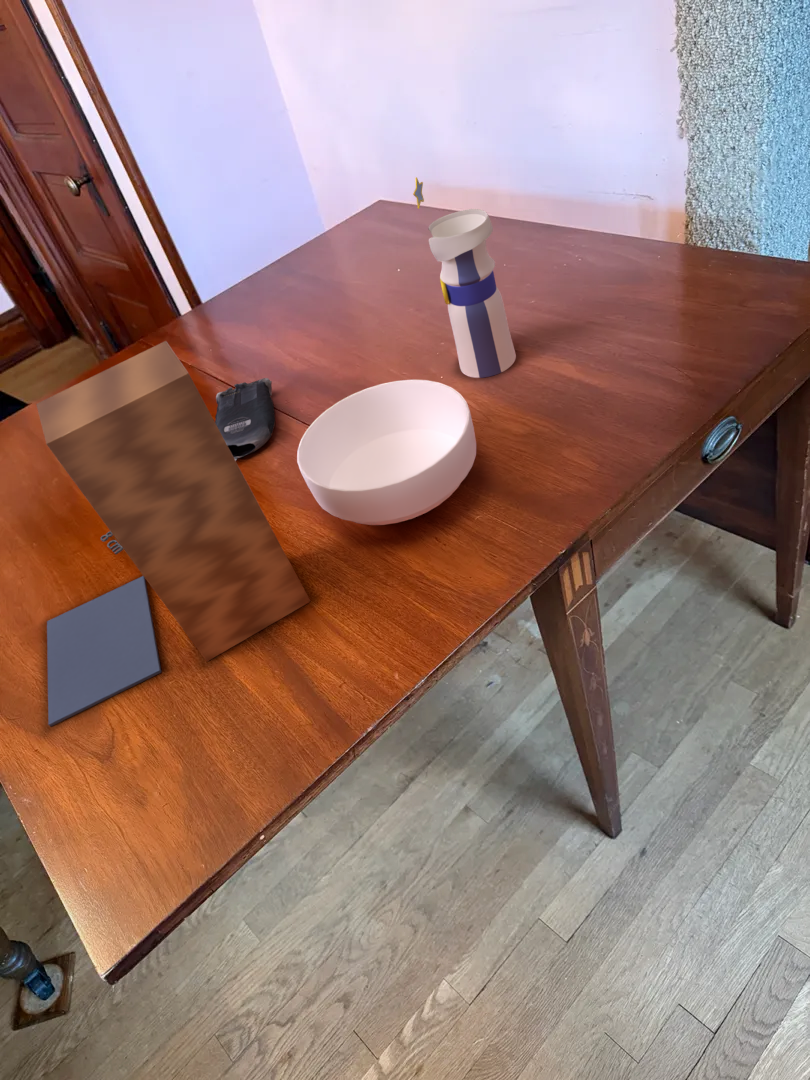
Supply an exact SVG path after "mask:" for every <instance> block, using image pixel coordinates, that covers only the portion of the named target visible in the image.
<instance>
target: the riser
mask: <svg viewBox="0 0 810 1080" xmlns="http://www.w3.org/2000/svg"><path fill="white" fill-rule="evenodd" d="M35 406H36V408H37V413H38V416H39V421H40V424H41V428H42V433H43V436H44V440H45V445H46V446H47V447H48V449H49V450H50V451H51V453H52V454H53V455H54V456H55V458H56V459H57V461H58V462H59V464H60V465H61V466H62V467H63V469H64V470H65V472H66V473H67V474H68V476H69V477H70V478H71V480H72V481H73V482H74V484H75V485H76V486H77V488H78V489H79V490H80V492H81V493H82V495H83V496H84V497H85V499H86V500H87V502H88V503H89V504H90V505H91V507H92V509H94V511H95V512H96V513H97V515H98V516H99V517H100V519H101V521H102V522H103V523H104V525H105V526H106V527H107V529H108V530H109V532H110V531H111V532H112V534H113V536H114V538H115V540H116V541H117V542H118V543H119V544H120V545H121V546H122V547H123V551H124V552H125V553H126V554H127V555H128V557H129V558H130V560H131V561H132V562H133V564H134V565H135V567H136V568H137V569H138V570H139V572H140V573H141V575H142V576H144V577H145V581H146V582H147V583H148V584H149V585H150V587H151V588H152V589H153V591H154V592H155V594H156V595H157V596H158V598H159V599H160V600H161V602H162V603H163V604H164V606H165V607H166V608H167V610H168V611H169V613H170V614H171V615H172V616H173V618H174V620H175V621H176V622H177V623H178V625H179V626H180V628H182V630H183V631H184V633H185V634H186V636H187V637H188V638H189V639H190V641H191V642H192V643H193V645H194V647H195V648H196V649H197V650H198V652H199V653H200V655H201V656H202V657H203V659H204V660H205V661H206V662H209V661H212V660H213V659H214V658H217V657H218V656H219V655H221V654H223V653H225V652H226V651H228V650H230V649H231V648H233V647H235V646H237V645H239V644H240V643H242V642H244V641H245V640H247V639H248V638H250V637H253V636H254V635H256V634H258V633H259V632H261V631H262V630H264V629H266V628H268V627H269V626H271V625H273V624H274V623H276V622H278V621H279V620H281V619H284V617H286V616H288V615H290V614H292V613H293V612H295V611H297V610H299V609H300V608H302V607H304V606H306V605H307V604H309V603H311V599H310V597H309V596H308V594H307V591H306V590H305V588H304V586H303V584H302V582H301V580H300V579H299V577H298V575H297V573H296V572H295V570H294V568H293V565H292V564H291V562H290V560H289V558H288V557H287V554H286V552H285V551H284V548H283V547H282V545H281V543H280V541H279V540H278V537H277V535H276V534H275V532H274V530H273V528H272V526H271V525H270V523H269V520H268V519H267V517H266V515H265V513H264V512H263V509H262V508H261V506H260V504H259V501H258V500H257V498H256V496H255V495H254V492H253V491H252V489H251V487H250V484H249V483H248V481H247V480H246V478H245V475H244V474H243V472H242V471H241V468H240V466H239V465H238V463H237V460H236V461H235V459H234V457H233V455H232V453H231V451H230V450H229V448H228V446H227V444H226V442H225V440H224V438H223V437H222V435H221V433H220V431H219V429H218V427H217V425H216V423H215V420H214V418H213V415H212V414H211V412H210V410H209V408H208V407H207V404H206V402H205V401H204V399H203V397H202V395H201V394H200V392H199V390H198V388H197V386H196V385H195V382H194V380H193V378H192V377H191V374H190V372H189V371H188V370H187V368H186V367H185V366H184V364H183V362H182V361H181V359H179V357H178V356H177V354H176V352H175V351H174V350H173V349H172V347H171V346H170V344H169V342H168V341H167V340H164V341H162V342H160V343H158V344H156V345H155V346H152V347H150V348H148V349H146V350H143V351H142V352H140V353H138V354H136V355H134V356H132V357H130V358H128V359H126V360H124V361H121V362H119V363H117V364H115V365H113V366H110V367H109V368H106V369H105V370H103V371H101V372H99V373H97V374H95V375H92V376H90V377H89V378H86V379H84V380H82V381H80V382H79V383H76V384H74V385H72V386H70V387H68V388H65V389H64V390H61V391H60V392H58V393H56V394H53V395H52V396H50V397H47V398H45V399H43V400H42V401H39V402H37V403H36V405H35Z"/></svg>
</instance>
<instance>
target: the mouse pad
mask: <svg viewBox="0 0 810 1080" xmlns="http://www.w3.org/2000/svg"><path fill="white" fill-rule="evenodd" d="M150 604H151V603H150V599H149V593H148V588H147V580H146V578H145V577H144V576H143V575H142V576H140V577H138V578H136V579H134V580H132V581H129V582H127V583H125V584H123V585H120V586H119V587H117V588H114V589H113V590H110V591H108V592H106V593H103V594H101V595H100V596H98V597H95V598H93V599H91V600H89V601H87V602H84V603H83V604H80V605H79V606H77V607H74V608H72V609H70V610H68V611H66V612H64V613H62V614H59V615H57V616H55V617H53V618H51V619H49V620H47V621H46V645H47V648H46V649H47V651H46V653H47V654H46V655H47V715H48V716H47V717H48V720H47V721H48V722H47V725H48V726H49V727H53V726H55V725H57V724H59V723H62V722H63V721H65V720H67V719H69V718H72V717H73V716H76V715H77V714H80V713H82V712H84V711H85V710H86V711H87V710H88V709H90V708H92V707H93V706H96V705H98V704H100V703H102V702H104V701H107V700H108V699H110V698H112V697H114V696H117V695H118V694H121V693H122V692H124V691H127V690H129V689H130V688H133V687H134V686H137V685H138V684H141V683H143V682H145V681H147V680H149V679H151V678H153V677H156V676H157V675H160V674H161V673H162V668H161V661H160V655H159V650H158V644H157V638H156V632H155V628H154V620H153V616H152V611H151V605H150Z"/></svg>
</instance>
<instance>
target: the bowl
mask: <svg viewBox="0 0 810 1080" xmlns="http://www.w3.org/2000/svg"><path fill="white" fill-rule="evenodd" d="M476 440H477V439H476V433H475V427H474V423H473V418H472V413H471V410H470V407H469V405H468V402H467V400H466V398H464V396H463V395H462V393H460V392H459V391H457V390H456V389H455V388H453V387H452V386H450V385H447V384H444V383H442V382H438V381H434V380H430V379H429V380H428V379H403V380H402V379H401V380H400V379H399V380H393V381H389V382H383V383H380V384H376V385H374V386H370V387H367V388H365V389H362V390H358V391H357V392H355V393H352V394H350V395H348V396H347V397H344V398H343V399H340V400H339V401H336V402H335V403H334V404H333V405H332V406H330V407H328V408H327V409H326V410H324V411H323V412H322V413H321V414H320V415H319V416H318V417H317V418H315V419H314V421H313V422H312V423H311V424H310V425H309V426H308V428H307V429H306V430H305V432H304V434H303V435H302V437H301V439H300V441H299V444H298V446H297V451H296V463H297V465H298V469H299V471H300V474H301V476H302V477H303V479H304V482H305V484H306V486H307V488H308V490H309V491H310V493H311V494H312V496H313V498H314V500H315V502H317V504H318V505H319V506H320V508H321V509H322V510H324V511H325V512H327V513H328V514H330V515H331V516H333V517H335V518H339V519H341V520H343V521H349V522H353V523H355V524H360V525H361V524H362V525H367V526H368V525H369V526H385V525H392V524H398V523H402V522H405V521H409V520H412V519H415V518H416V517H417V518H418V517H420V516H422V515H423V514H426V513H428V512H430V511H432V510H433V509H435V508H437V507H439V506H440V505H441V504H442V503H443V502H445V501H446V500H448V499H449V498H450V497H451V496H452V495H453V493H454V492H455V491H456V490H457V489H458V488H459V487H460V485H461V483H462V482H463V481H464V480H465V479H466V477H467V476H468V474H469V472H470V471H471V469H472V467H474V463H475V459H476V456H477V441H476Z"/></svg>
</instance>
